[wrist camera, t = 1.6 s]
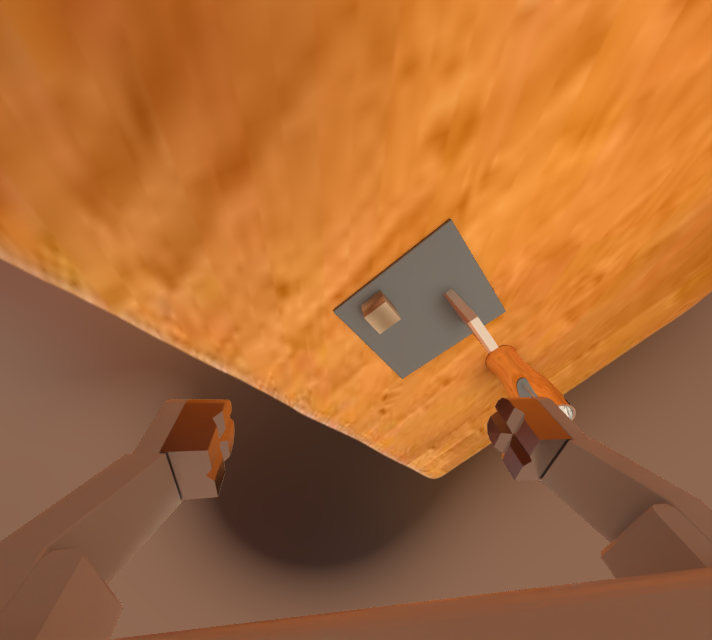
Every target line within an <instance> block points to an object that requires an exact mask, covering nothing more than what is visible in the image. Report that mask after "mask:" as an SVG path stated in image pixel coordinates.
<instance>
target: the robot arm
mask: <svg viewBox="0 0 712 640" xmlns="http://www.w3.org/2000/svg"><path fill="white" fill-rule="evenodd" d="M495 408H496V410H497V412H496V413H494V414H493V415H492V416H490V419H489V421H488V423H487V431H488V435H489V438H490V441H491V442H492V444H493V446H494V447H495V448H496V449H498V450H499V451H501V452H502V461H503V462H504V464H505V466H506V467H507V469H508V471H509V472H510V474H511V476H512V477H513V479H514V480H541V481H540V482H542V483H543V484H544V485H545V486H546V487H548V488H549V489H550V490H551V491H552V492H553V493H554V494H555V495H557V496H558V497H559V498H560V499H561V500H562V501H564V502H565V503H566V504H567V505H568V506H569V507H570V508H571V509H573V510H574V511H575V512H576V513H577V514H578V515H579V516H581V517H582V518H583V519H584V520H585V521H586V522H587V523H589V524H590V525H591V526H592V527H593V528H594V529H595V530H597V531H598V532H599V533H600V534H601V535H602V536H604V537H605V538H606V539H607V540H608V541H609V542H610V544H609V545H608V546H607V547H606V548H605V549H603V550H602V551H601V558H602V560H603V561H604V563H605V564H606V565H607V567H608V568H609V570H610V571H611V573H612V574H613V576H614V577H615V579H607V580H597V581H589V582H581V583H573V584H564V585H556V586H548V587H539V588H531V589H524V590H515V591H506V592H498V593H490V594H481V595H473V596H465V597H457V598H448V599H440V600H431V601H423V602H415V603H407V604H398V605H391V606H382V607H373V608H366V609H357V610H349V611H340V612H332V613H324V614H316V615H307V616H299V617H290V618H282V619H274V620H266V621H257V622H249V623H241V624H232V625H225V626H216V627H207V628H199V629H191V630H183V631H175V632H167V633H158V634H149V635H141V636H134V637H124V638H117V639H110V638H111V636H112V633H113V631H114V628H115V626H116V624H117V621H118V619H119V616H120V614H121V611H122V609H123V608H122V605H121V602H120V600H119V599H118V598H117V596H116V595H115V594H114V593H113V592H112V590H111V589H110V587H109V586H108V585H107V584H108V583H109V582H110V581H111V580H112V578H113V577H114V576H115V575H116V574H117V573H118V572H119V571H120V570H121V569H122V567H123V566H124V565H125V564H126V563H127V562H128V561H129V560H130V559H131V558H132V556H133V555H134V554H135V553H136V552H137V551H138V550H139V549H140V548H141V547H142V545H143V544H144V543H145V542H146V541H147V540H148V539H149V538H150V537H151V535H152V534H153V533H154V532H155V531H156V530H157V529H158V528H159V527H160V525H161V524H162V523H163V522H164V521H165V520H166V519H167V518H168V516H170V514H171V513H172V512H173V511H174V510H175V509H176V508H177V507H178V505H179V504H180V503H181V502H182V501H181V500H186V499H198V498H209V497H218V495H219V492H220V488H221V485H222V481H223V478H224V475H225V466H224V461H225V460H226V459H227V458H228V457H229V456H230V454H231V450H232V446H233V439H234V422H233V420H232V419H231V418H229V416H230V413H231V410H232V408H231V403H230V401H229V400H210V399H209V400H208V399H207V400H206V399H189V400H185V399H169V400H168V401H166V402H165V403H164V404H163V405H162V407H161V409H160V411H159V412H158V414H157V415H156V417H155V418H154V420H153V422H152V423H151V425H150V426H149V428H148V430H147V431H146V433H145V435H144V436H143V438H142V439H141V441H140V443H139V445H138V446H137V448H136V449H135V451H134V452H133V454H126V455H124V456H122V457H121V458H120V459H118V460H117V461H115V462H114V463H112V464H111V465H110V466H108V467H107V468H105V469H104V470H102V471H101V472H100V473H98V474H97V475H95V476H94V477H92V478H91V479H90V480H88V481H87V482H85V483H84V484H83V485H81V486H79V487H78V488H77V489H75V490H74V491H72V492H71V493H70V494H68V495H67V496H65V497H64V498H62V499H61V500H59V501H58V502H56V503H55V504H54V505H52V506H51V507H49V508H48V509H46V510H45V511H44V512H42V513H41V514H39V515H38V516H36V517H35V518H34V519H32V520H31V521H29V522H28V523H26V524H25V525H23V526H22V527H21V528H19V529H18V530H17V531H15V532H13V533H12V534H11V535H9V536H8V537H6V538H5V539H3V540H2V541H0V640H712V510H711V509H710V508H709V507H708V506H707V505H705V504H704V503H703V502H702V501H701V500H700V499H698V498H696V497H694V496H693V495H691V494H689V493H688V492H685V491H684V490H682V489H681V488H679V487H677V486H675V485H674V484H671V483H670V482H668V481H666V480H665V479H663V478H661V477H659V476H658V475H656V474H654V473H652V472H651V471H649V470H647V469H645V468H644V467H642V466H640V465H638V464H637V463H635V462H633V461H631V460H630V459H628V458H626V457H624V456H623V455H621V454H619V453H617V452H616V451H614V450H612V449H610V448H609V447H607V446H605V445H603V444H602V443H600V442H598V441H596V440H595V439H589V438H588V437H587V436H586V435H585V434H584V433H583V432H582V431H581V430H580V429H579V428H578V427H577V426H576V424H574V422H573V421H572V420H571V419H570V418H569V417H568V416H567V415H566V414H565V413H564V412H563V411H562V410H561V409H560V408H559V407H558V406H557V405H556V404H555V403H554V402H553V401H552V400H551V399H549V398H547V397H531V398H530V397H514V398H501V399H500V400H498V402H497V404H496V406H495Z"/></svg>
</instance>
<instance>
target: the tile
mask: <svg viewBox="0 0 712 640" xmlns="http://www.w3.org/2000/svg"><path fill="white" fill-rule="evenodd" d="M443 295H444V296H445V298H446V299H447V300H448V302H449V303H450V305H451V306H452V307H453V309H454V310H455V312H456V313H457V314H458V316H459V317H460V318H461V320H462V321H463V322H464V324H465V325H466V326H467V327H468V329H469V330H470V331H471V332H472V333H473V335H474V336H475V337H476V338H477V340H478V341H479V342H480V343H481V344H482V346H483V347H484V348H485V349H486V351H487V352H488V353H490V352H492V351H493V350H495V349H497V348H498V346H497V344H496V343H495V341H494V340H493V338H492V337H491V335H490V334H489V332H488V331H487V329H486V328H485V326H484V325H483V323H482V322H481V320H480V319H479V318H478V316H477V315H476V314H475V313H474V312H473V311H472V310H471V309H470V308H469V307H468V305H467V304H466V303H465V302H464V301H463V300H462V299H461V298H460V297H459V296H458V295H457V294H456V293H455V291H454V290H453V289H452V288H451V289H450V290H448V291H447V292H446V293H444V294H443Z"/></svg>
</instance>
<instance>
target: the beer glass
mask: <svg viewBox="0 0 712 640" xmlns="http://www.w3.org/2000/svg"><path fill="white" fill-rule="evenodd" d="M486 365H487V367H488V368H489V369H490V370H491V371H492V372H493V373H494V374H496V375H497V377H498V378H499V379H500V381H501V383H502V385H503V387H504V389H505V391H506V393H507V395H508V397H509V398H514V397H530V398H531V397H547V398H549V399H551V400H552V401H553V402H554V403H555V404H556V405H557V406H558V407H559V408H560V409H561V410H562V411H563V412H564V413H565V414H566V415H567V416H568V417H569V418H570V419H571V420H573V419H574V417H575V414H576V411H575V409H574V407H572V406H571V404H570V403H569V402H568V401H567V399H566V398H565V397H564V396H563V395H562V393H561V392H560V391H559V390H558V389H557V388H556V387H555V386H554V385H553V384H552V383H551V382H550V381H549V380H547V379H546V378H545V377H544V376H542V375H541V374H540V373H538V372H537V371H535V370H534V369H533V368H531V367H530V366H528V365H527V364H526V363H525V362H524V361H523V360H522V359H521V358H520V356H519V354H518V353H517V351H516V350H515V349H514V348H513V347H511V346H501V347H498V348H497V349H495V350H493V351H492V352H491V353H490V354H489V355H488V356H487V359H486Z"/></svg>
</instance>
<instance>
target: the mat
mask: <svg viewBox="0 0 712 640" xmlns="http://www.w3.org/2000/svg"><path fill="white" fill-rule="evenodd" d="M451 288H452V289H453V290H454V291H455V293H456V294H457V295H458V296H459V297H460V298H461V299H462V300H463V301H464V302H465V303H466V304H467V305H468V307H469V308H470V309H471V310H472V311H473V312H474V313H475V314H476V315H477V316H478V318H479V319H480V320H481V322H482V323H483V325H486V324H487V323H489V322H490V321H492V320H493V319H495V318H497V317H498V316H500V315H501V314H503V313H504V312H506V311H505V309H504V307H503V305H502V304H501V302H500V300H499V299H498V297H497V295H496V294H495V292H494V290H493V289H492V287H491V285H490V284H489V282H488V280H487V279H486V277H485V275H484V274H483V272H482V270H481V269H480V267H479V265H478V264H477V262H476V260H475V259H474V257H473V255H472V254H471V252H470V250H469V249H468V247H467V245H466V244H465V242H464V240H463V238H462V237H461V235H460V233H459V232H458V230H457V228H456V227H455V225H454V223H453V222H452V220H451V219H449V220H448V221H446V222H445V223H444V224H443V225H441V226H440V227H439V228H437V229H436V230H435V231H434V232H432V233H431V234H430V235H428V236H427V237H426V238H425V239H423V240H422V241H421V242H420V243H418V244H417V245H416V246H414V247H413V248H412V249H411V250H409V251H408V252H407V253H406V254H404V255H403V256H402V257H400V258H399V259H398V260H397V261H395V262H394V263H393V264H392V265H390V266H389V267H388V268H386V269H385V270H384V271H383V272H381V273H380V274H379V275H377V276H376V277H375V278H374V279H372V280H371V281H370V282H369V283H367V284H366V285H365V286H363V287H362V288H361V289H360V290H358V291H357V292H356V293H355V294H353V295H352V296H351V297H349V298H348V299H347V300H346V301H344V302H343V303H342V304H340V305H339V306H338V307H337V308H335V309H334V310H333V311H334V313H335V314H336V315H337V316H338V317H339V318H340V319H341V320H342V321H343V322H344V323H345V324H347V325H348V326H349V327H350V328H351V329H352V330H353V331H354V332H355V333H356V334H357V335H358V336H359V337H360V338H361V339H362V340H363V341H364V342H365V343H366V344H367V345H368V346H369V347H370V348H371V349H372V350H373V351H374V352H375V353H376V354H377V355H378V356H379V357H380V358H381V359H382V360H384V361H385V362H386V363H387V364H388V365H389V366H390V367H391V368H392V369H393V370H394V371H395V372H396V373H397V374H398V375H399V376H400V377H401V378H402V379H403V378H404V377H406V376H408V375H409V374H411V373H412V372H414V371H415V370H417V369H418V368H420V367H421V366H423V365H424V364H426V363H427V362H429V361H431V360H432V359H434V358H435V357H437V356H438V355H440V354H441V353H443V352H444V351H446V350H447V349H449V348H450V347H452V346H454V345H455V344H457V343H458V342H460V341H461V340H463V339H464V338H466V337H467V336H469V335H470V334H472V332H471V331H470V330H469V329H468V327H467V326H466V325H465V324H464V322H463V321H462V320H461V318H460V317H459V316H458V314H457V313H456V312H455V310H454V309H453V307H452V306H451V305H450V303H449V302H448V300H447V299H446V298H445V296H444V295H443V294H444V293H446V292H447V291H448V290H450V289H451ZM380 290H381V291H382V292H383V293H384V294H385V296H386V297H387V298H388V299H389V300H390V301H391V303H392V304H393V305H394V306H395V308H396V310H397V312H398V314H399V316H400V318H401V320H399V321H398V322H396V323H395V324H394V325H392V326H391V327H389V328H388V329H387V330H385V331H384V332H382V333H381V334H379V333H378V332H377V331H376V330H375V329H374V328H373V327H372V326H371V325H370V324H369V323H368V321H367V320H366V319H365V318H364V316H363V312H362V308H361V305H362V304H363V303H364V302H366V301H367V300H368V299H369V298H371V297H372V296H373V295H375V294H376V293H377V292H379V291H380Z"/></svg>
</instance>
